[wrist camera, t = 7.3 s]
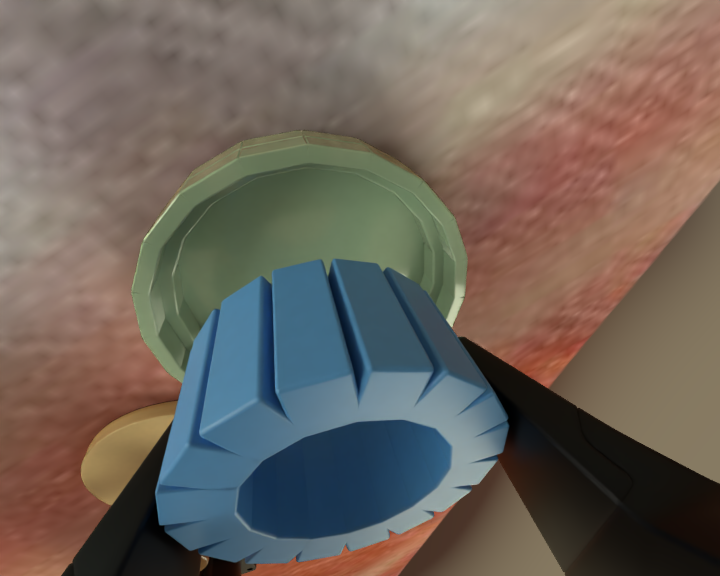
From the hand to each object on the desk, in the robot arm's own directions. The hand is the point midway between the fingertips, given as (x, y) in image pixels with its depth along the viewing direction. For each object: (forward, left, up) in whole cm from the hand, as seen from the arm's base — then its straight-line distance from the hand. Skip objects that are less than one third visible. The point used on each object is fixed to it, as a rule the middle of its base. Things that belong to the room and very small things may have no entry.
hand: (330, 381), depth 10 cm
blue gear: (0, 0, -1) cm, 1 cm away
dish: (0, 0, -6) cm, 6 cm away
